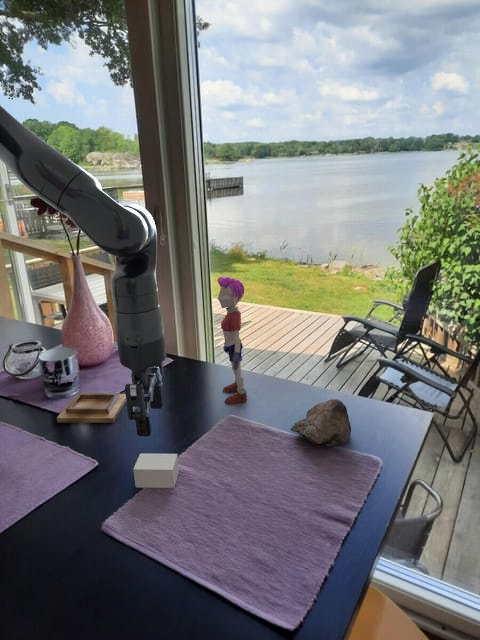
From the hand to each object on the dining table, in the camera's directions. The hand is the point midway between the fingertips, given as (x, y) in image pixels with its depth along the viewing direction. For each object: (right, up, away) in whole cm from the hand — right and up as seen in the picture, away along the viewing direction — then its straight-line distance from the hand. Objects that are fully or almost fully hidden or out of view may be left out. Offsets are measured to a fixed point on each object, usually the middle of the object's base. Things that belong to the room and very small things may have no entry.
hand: (151, 420), depth 76 cm
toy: (+14, -1, +33) cm, 36 cm away
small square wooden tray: (-19, -4, +28) cm, 34 cm away
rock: (+32, -7, +15) cm, 36 cm away
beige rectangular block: (0, -12, +4) cm, 13 cm away
